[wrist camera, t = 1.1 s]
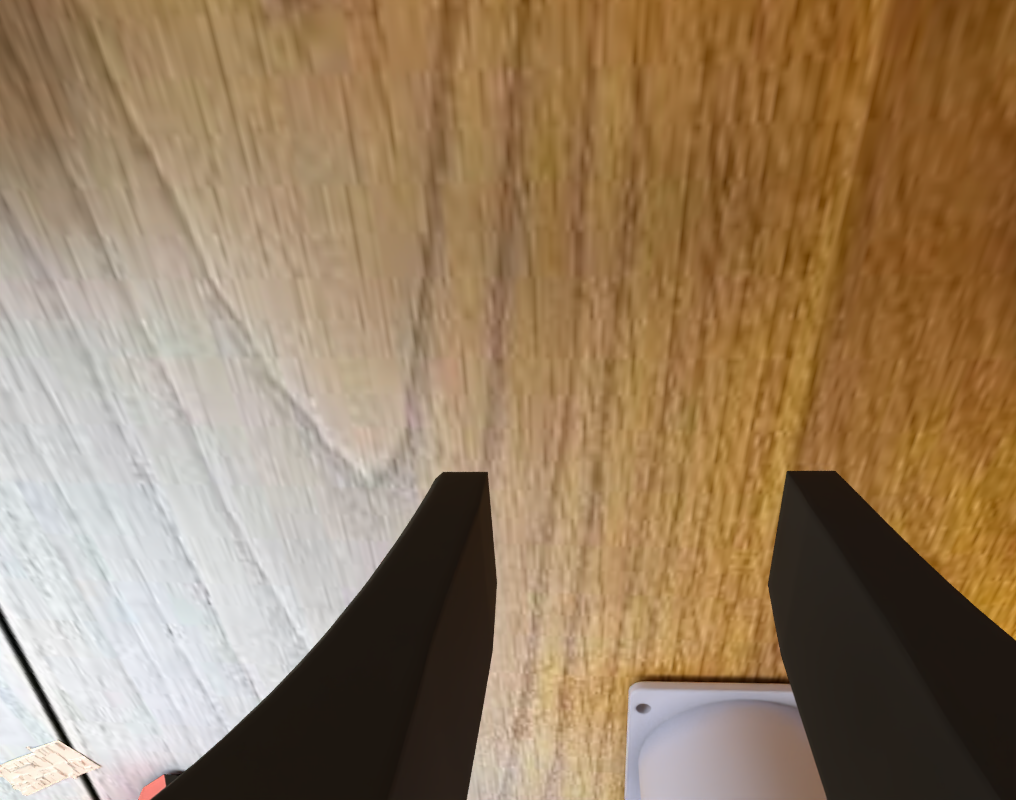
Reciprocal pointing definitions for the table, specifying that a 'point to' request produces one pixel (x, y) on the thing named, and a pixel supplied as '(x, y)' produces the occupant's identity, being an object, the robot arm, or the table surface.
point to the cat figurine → (156, 786)
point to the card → (45, 767)
